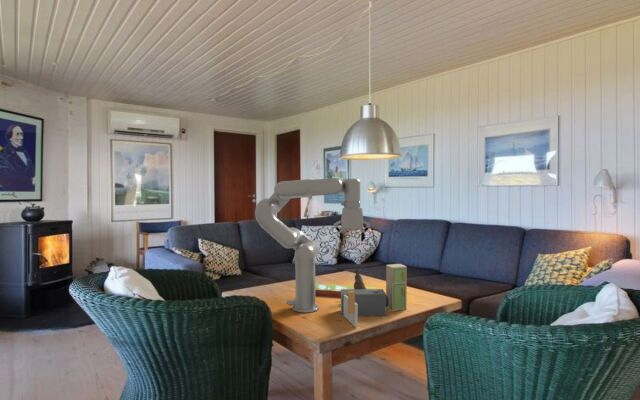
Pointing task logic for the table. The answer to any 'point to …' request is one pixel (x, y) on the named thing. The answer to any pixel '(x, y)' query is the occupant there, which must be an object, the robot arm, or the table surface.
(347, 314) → the side door
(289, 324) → the table surface
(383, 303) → the grey toy microwave
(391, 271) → the toy refrigerator
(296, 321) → the table surface
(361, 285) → the brown carved statuette
